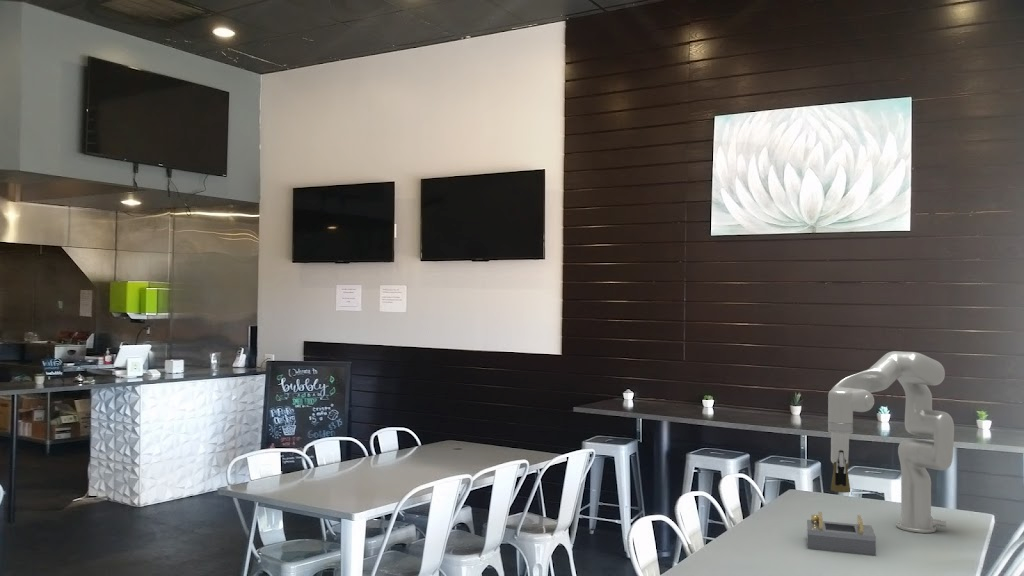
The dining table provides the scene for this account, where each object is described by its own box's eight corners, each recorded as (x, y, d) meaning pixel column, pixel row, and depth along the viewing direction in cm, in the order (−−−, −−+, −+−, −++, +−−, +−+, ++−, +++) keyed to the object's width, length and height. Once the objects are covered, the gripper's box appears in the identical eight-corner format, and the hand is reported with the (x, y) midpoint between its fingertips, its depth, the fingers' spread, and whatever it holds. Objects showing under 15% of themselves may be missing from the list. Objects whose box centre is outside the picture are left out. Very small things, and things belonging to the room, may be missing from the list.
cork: (848, 489, 264) (848, 455, 265) (852, 493, 259) (852, 458, 259) (828, 488, 266) (829, 454, 266) (832, 491, 260) (832, 457, 260)
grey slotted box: (871, 544, 265) (871, 514, 265) (875, 555, 252) (875, 525, 252) (806, 537, 271) (807, 509, 272) (807, 548, 258) (807, 518, 258)
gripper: (827, 424, 272) (826, 478, 271) (829, 430, 256) (829, 488, 256) (851, 425, 270) (850, 480, 269) (854, 431, 254) (854, 490, 253)
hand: (840, 483), depth 262 cm, fingers closed on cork, 4 cm apart
